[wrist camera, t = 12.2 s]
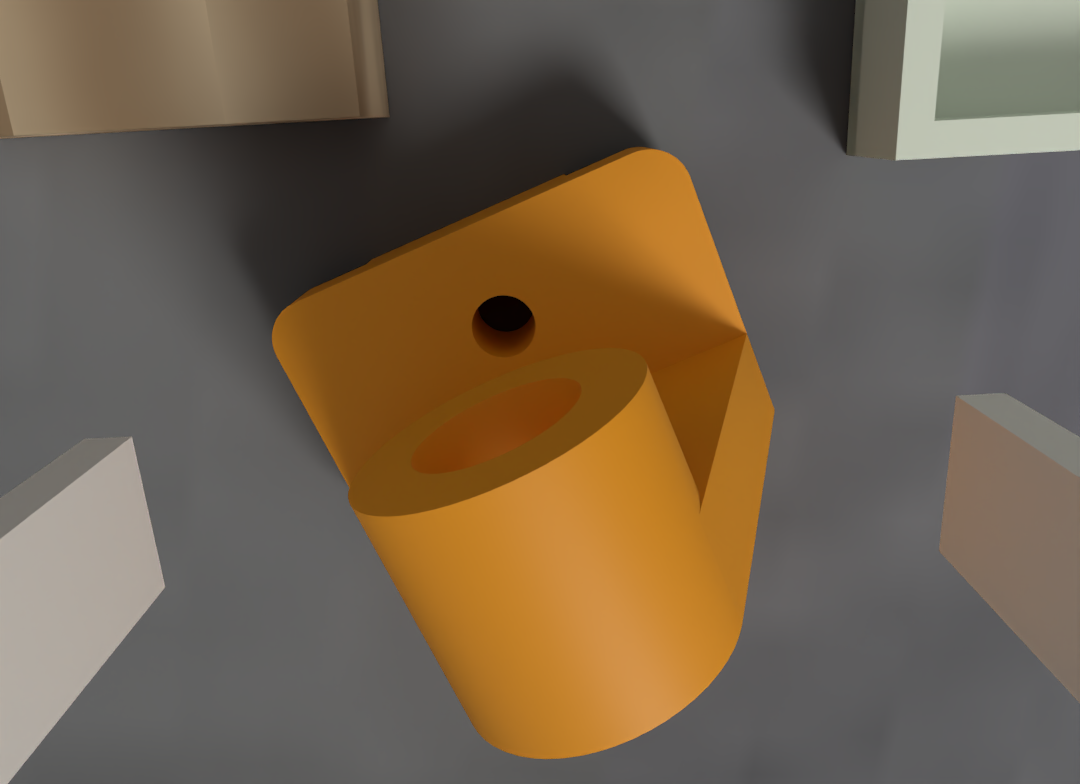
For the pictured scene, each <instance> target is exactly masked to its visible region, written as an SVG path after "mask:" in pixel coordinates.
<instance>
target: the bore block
mask: <svg viewBox="0 0 1080 784" xmlns="http://www.w3.org/2000/svg"><path fill="white" fill-rule="evenodd" d="M383 117H390V116H389V106H388V96H387V87H386V77H385V68H384V58H383V48H382V39H381V29H380V19H379V10H378V0H0V139H5V138H23V137H41V136H59V135H77V134H95V133H113V132H131V131H149V130H167V129H185V128H203V127H221V126H239V125H257V124H275V123H293V122H311V121H329V120H347V119H365V118H383Z"/></svg>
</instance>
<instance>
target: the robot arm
mask: <svg viewBox="0 0 1080 784" xmlns="http://www.w3.org/2000/svg"><path fill="white" fill-rule="evenodd" d="M939 551H940V553H941V554H942V555H943V556H944V557H945V558H946V559H947V560H948V561H949V562H950V563H951V564H952V565H953V567H954V568H955V569H956V570H957V571H958V572H959V573H960V574H961V575H962V576H963V577H964V578H965V580H966V581H967V582H968V583H969V584H970V585H971V586H972V587H973V588H974V589H975V590H976V591H977V593H978V594H979V595H980V596H981V597H982V598H983V599H984V600H985V601H986V602H987V603H988V604H989V606H990V607H991V608H992V609H993V610H994V611H995V612H996V613H997V614H998V615H999V616H1000V617H1001V618H1002V620H1003V621H1004V622H1005V623H1006V624H1007V625H1008V626H1009V627H1010V628H1011V629H1012V630H1013V631H1014V633H1015V634H1016V635H1017V636H1018V637H1019V638H1020V639H1021V640H1022V641H1023V642H1024V643H1025V644H1026V646H1027V647H1028V648H1029V649H1030V650H1031V651H1032V652H1033V653H1034V654H1035V655H1036V656H1037V657H1038V659H1039V660H1040V661H1041V662H1042V663H1043V664H1044V665H1045V666H1046V667H1047V668H1048V669H1049V670H1050V671H1051V673H1052V674H1053V675H1054V676H1055V677H1056V678H1057V679H1058V680H1059V681H1060V682H1061V683H1062V684H1063V686H1064V687H1065V688H1066V689H1067V690H1068V691H1069V692H1070V693H1071V694H1072V695H1073V696H1074V697H1075V699H1076V700H1077V701H1078V702H1079V703H1080V437H1079V436H1077V435H1075V434H1073V433H1072V432H1070V431H1068V430H1067V429H1065V428H1063V427H1062V426H1060V425H1058V424H1056V423H1055V422H1053V421H1051V420H1050V419H1048V418H1046V417H1045V416H1043V415H1041V414H1040V413H1038V412H1036V411H1034V410H1033V409H1031V408H1029V407H1028V406H1026V405H1024V404H1023V403H1021V402H1019V401H1017V400H1016V399H1014V398H1012V397H1011V396H1009V395H1007V394H1006V393H999V394H979V395H959V396H956V401H955V411H954V420H953V429H952V438H951V447H950V456H949V465H948V475H947V484H946V493H945V502H944V511H943V520H942V529H941V538H940V548H939ZM164 588H165V584H164V580H163V575H162V571H161V566H160V562H159V557H158V553H157V548H156V544H155V539H154V535H153V530H152V526H151V521H150V517H149V512H148V508H147V503H146V499H145V494H144V490H143V485H142V481H141V476H140V471H139V467H138V462H137V458H136V453H135V449H134V444H133V440H132V437H114V438H94V439H84V440H82V441H81V442H79V443H78V444H77V445H75V446H74V447H72V448H71V449H70V450H68V451H67V452H65V453H64V454H62V455H61V456H60V457H58V458H57V459H55V460H54V461H52V462H51V463H50V464H48V465H47V466H45V467H44V468H42V469H41V470H40V471H38V472H37V473H35V474H34V475H32V476H31V477H30V478H28V479H27V480H25V481H24V482H23V483H21V484H20V485H18V486H17V487H15V488H14V489H13V490H11V491H10V492H8V493H7V494H5V495H4V496H3V497H1V498H0V784H8V783H9V781H10V780H11V779H12V778H13V776H14V775H15V774H16V773H17V771H18V770H19V769H20V768H21V766H22V765H23V764H24V763H25V761H26V760H27V759H28V758H29V756H30V755H31V754H32V753H33V751H34V750H35V749H36V748H37V747H38V745H39V744H40V743H41V742H42V740H43V739H44V738H45V737H46V735H47V734H48V733H49V732H50V730H51V729H52V728H53V727H54V725H55V724H56V723H57V722H58V720H59V719H60V718H61V717H62V715H63V714H64V713H65V712H66V710H67V709H68V708H69V707H70V705H71V704H72V703H73V702H74V700H75V699H76V698H77V697H78V695H79V694H80V693H81V692H82V690H83V689H84V688H85V687H86V685H87V684H88V683H89V682H90V680H91V679H92V678H93V677H94V675H95V674H96V673H97V672H98V670H99V669H100V668H101V667H102V665H103V664H104V663H105V662H106V660H107V659H108V658H109V657H110V655H111V654H112V653H113V652H114V650H115V649H116V648H117V647H118V645H119V644H120V643H121V642H122V640H123V639H124V638H125V637H126V635H127V634H128V633H129V632H130V630H131V629H132V628H133V627H134V625H135V624H136V623H137V622H138V620H139V619H140V618H141V617H142V615H143V614H144V613H145V612H146V610H147V609H148V608H149V607H150V605H151V604H152V603H153V602H154V600H155V599H156V598H157V597H158V595H159V594H160V593H161V592H162V590H163V589H164Z"/></svg>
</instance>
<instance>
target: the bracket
mask: <svg viewBox="0 0 1080 784" xmlns="http://www.w3.org/2000/svg"><path fill="white" fill-rule="evenodd" d="M500 295H507V296H512V297H515V298H517V299H519V300H521V301H523V302H524V303H525V304H526V305H527V306H528V307H529V308H530V310H531V311H532V313H533V314H532V316H531V318H530V319H529V321H528V322H527V323H526V324H525V325H524V326H523V327H521V328H519V329H517V330H514V331H509V332H503V331H498V330H495V329H493V328H491V327H490V326H488V325H487V324H486V323H485V322H484V321H483V319H482V318H481V316H480V314H479V311H478V307H479V306H480V305H481V304H482V303H483V302H484V301H486V300H487V299H489V298H492V297H495V296H500ZM272 343H273V348H274V351H275V354H276V356H277V358H278V360H279V361H280V363H281V365H282V367H283V369H284V370H285V372H286V374H287V376H288V378H289V379H290V381H291V383H292V385H293V387H294V388H295V390H296V392H297V394H298V396H299V398H300V399H301V401H302V403H303V405H304V407H305V408H306V410H307V412H308V414H309V416H310V417H311V419H312V421H313V423H314V425H315V426H316V428H317V430H318V432H319V434H320V436H321V437H322V439H323V441H324V443H325V445H326V446H327V448H328V450H329V452H330V454H331V455H332V457H333V459H334V461H335V463H336V464H337V466H338V468H339V470H340V472H341V474H342V475H343V477H344V479H345V481H346V483H347V484H348V486H349V492H348V499H349V503H350V505H351V507H352V509H353V510H354V512H355V514H356V516H357V518H358V519H359V521H360V523H361V525H362V527H363V528H364V530H365V532H366V534H367V536H368V537H369V539H370V541H371V543H372V545H373V546H374V548H375V550H376V552H377V554H378V555H379V557H380V559H381V561H382V563H383V564H384V566H385V568H386V570H387V571H388V573H389V575H390V577H391V579H392V580H393V582H394V584H395V586H396V588H397V589H398V591H399V593H400V595H401V597H402V598H403V600H404V602H405V604H406V606H407V607H408V609H409V611H410V613H411V615H412V616H413V618H414V620H415V622H416V624H417V625H418V627H419V629H420V631H421V633H422V634H423V636H424V638H425V640H426V642H427V643H428V645H429V647H430V649H431V651H432V652H433V654H434V656H435V658H436V660H437V661H438V663H439V665H440V667H441V669H442V670H443V672H444V674H445V676H446V678H447V679H448V681H449V683H450V685H451V687H452V688H453V690H454V692H455V694H456V696H457V697H458V699H459V701H460V703H461V705H462V706H463V708H464V710H465V712H466V714H467V715H468V717H469V719H470V721H471V723H472V724H473V726H474V727H475V729H476V730H477V732H478V733H479V734H480V735H481V736H482V737H483V738H484V739H485V740H486V741H487V742H489V743H490V744H492V745H493V746H494V747H496V748H498V749H501V750H503V751H505V752H507V753H511V754H514V755H517V756H522V757H528V758H538V759H558V758H568V757H576V756H582V755H586V754H590V753H595V752H599V751H602V750H605V749H608V748H611V747H614V746H617V745H619V744H622V743H624V742H627V741H629V740H632V739H634V738H636V737H638V736H640V735H642V734H644V733H646V732H648V731H650V730H652V729H653V728H655V727H657V726H658V725H660V724H662V723H663V722H665V721H667V720H668V719H670V718H671V717H672V716H674V715H675V714H677V713H678V712H679V711H681V710H682V709H683V708H685V707H686V706H687V705H688V704H689V703H691V702H692V701H693V700H694V699H695V698H696V697H697V696H699V695H700V694H701V693H702V692H703V691H704V690H705V689H706V688H707V687H708V686H709V684H710V683H711V682H712V681H713V680H714V679H715V677H716V676H717V675H718V674H719V672H720V671H721V670H722V668H723V667H724V665H725V664H726V662H727V661H728V659H729V657H730V655H731V654H732V652H733V650H734V648H735V645H736V643H737V640H738V638H739V635H740V631H741V627H742V622H743V615H744V609H745V602H746V595H747V589H748V582H749V576H750V569H751V562H752V556H753V549H754V543H755V536H756V529H757V523H758V516H759V510H760V503H761V496H762V490H763V483H764V477H765V470H766V463H767V457H768V450H769V444H770V437H771V430H772V424H773V417H774V407H773V405H772V402H771V399H770V396H769V394H768V391H767V388H766V385H765V383H764V380H763V377H762V374H761V372H760V369H759V366H758V363H757V361H756V358H755V355H754V352H753V349H752V347H751V344H750V341H749V338H748V336H747V333H746V330H745V327H744V325H743V322H742V319H741V316H740V314H739V311H738V308H737V305H736V302H735V300H734V297H733V294H732V291H731V289H730V286H729V283H728V280H727V278H726V275H725V272H724V269H723V267H722V264H721V261H720V258H719V255H718V253H717V250H716V247H715V244H714V242H713V239H712V236H711V233H710V231H709V228H708V225H707V222H706V220H705V217H704V214H703V211H702V208H701V206H700V203H699V200H698V197H697V195H696V192H695V189H694V186H693V184H692V181H691V178H690V176H689V173H688V171H687V170H686V168H685V167H684V165H683V164H682V163H681V162H680V161H679V160H678V159H677V158H675V157H674V156H672V155H671V154H669V153H666V152H664V151H660V150H656V149H651V148H646V147H633V148H628V149H625V150H623V151H620V152H618V153H616V154H614V155H611V156H609V157H607V158H605V159H602V160H600V161H598V162H596V163H593V164H591V165H589V166H587V167H584V168H582V169H580V170H578V171H575V172H573V173H571V174H569V175H566V176H565V174H563V175H561V176H558V177H556V178H554V179H552V180H549V181H547V182H545V183H543V184H540V185H538V186H536V187H534V188H531V189H529V190H527V191H525V192H522V193H520V194H518V195H516V196H513V197H511V198H509V199H507V200H504V201H502V202H500V203H498V204H495V205H493V206H491V207H489V208H486V209H484V210H482V211H480V212H477V213H475V214H473V215H471V216H468V217H466V218H464V219H462V220H459V221H457V222H455V223H453V224H450V225H448V226H446V227H444V228H441V229H439V230H437V231H435V232H432V233H430V234H428V235H426V236H423V237H421V238H419V239H417V240H414V241H412V242H410V243H408V244H405V245H403V246H401V247H399V248H396V249H394V250H392V251H390V252H387V253H385V254H383V255H381V256H378V257H376V258H374V259H372V260H371V261H370V262H368V263H367V264H366V265H364V266H361V267H359V268H357V269H354V270H352V271H350V272H348V273H345V274H343V275H341V276H339V277H336V278H334V279H332V280H330V281H327V282H325V283H323V284H321V285H318V286H316V287H314V288H312V289H310V290H308V291H307V292H306V293H304V294H303V295H302V296H300V297H299V298H298V299H297V300H295V301H294V302H293V303H292V304H290V305H289V306H288V307H286V308H285V309H284V310H283V311H282V312H281V313H280V315H279V316H278V318H277V319H276V321H275V324H274V327H273V331H272Z"/></svg>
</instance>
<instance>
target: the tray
mask: <svg viewBox="0 0 1080 784" xmlns="http://www.w3.org/2000/svg"><path fill="white" fill-rule="evenodd" d="M1072 150H1080V0H856V4H855V21H854V37H853V54H852V71H851V87H850V104H849V121H848V137H847V154H846V155H851V156H860V157H870V158H879V159H888V160H910V159H928V158H946V157H964V156H982V155H1000V154H1018V153H1036V152H1054V151H1072Z"/></svg>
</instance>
